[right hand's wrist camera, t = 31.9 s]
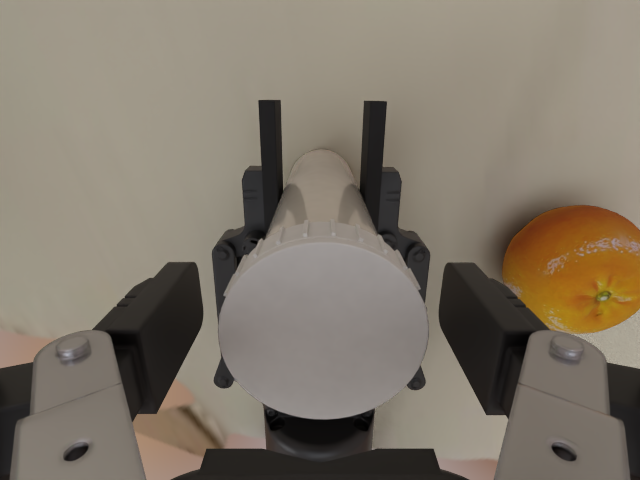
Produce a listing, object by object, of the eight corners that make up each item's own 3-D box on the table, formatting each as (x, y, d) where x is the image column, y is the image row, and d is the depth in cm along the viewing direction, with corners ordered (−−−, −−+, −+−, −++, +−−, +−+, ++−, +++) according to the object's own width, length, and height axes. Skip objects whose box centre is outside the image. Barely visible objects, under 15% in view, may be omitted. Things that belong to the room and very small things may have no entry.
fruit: (485, 334, 26) (614, 363, 19) (473, 216, 26) (598, 200, 19) (555, 314, 30) (685, 331, 23) (545, 210, 30) (672, 195, 23)
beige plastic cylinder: (306, 137, 25) (281, 211, 9) (363, 166, 26) (437, 284, 10) (279, 195, 27) (217, 348, 10) (334, 221, 27) (356, 402, 11)
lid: (228, 209, 9) (212, 229, 8) (433, 226, 10) (453, 249, 8) (229, 374, 11) (215, 415, 10) (400, 386, 12) (411, 428, 10)
